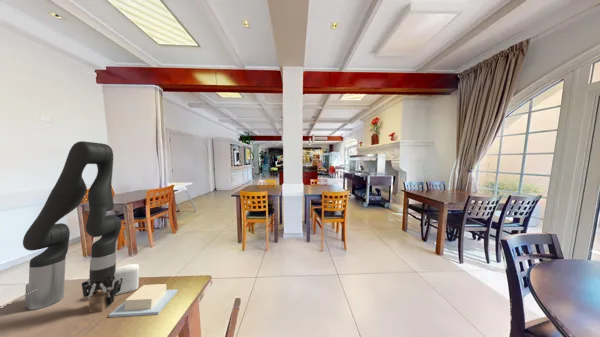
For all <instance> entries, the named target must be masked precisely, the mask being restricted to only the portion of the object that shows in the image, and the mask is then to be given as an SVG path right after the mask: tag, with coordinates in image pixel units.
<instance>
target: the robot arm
mask: <svg viewBox="0 0 600 337" xmlns="http://www.w3.org/2000/svg"><path fill="white" fill-rule="evenodd" d="M87 165H96V167H97V173H96V176H95V179H94V180H93V182H92V184H91V185H90V187H89V188H88V187H87V185H86V182H85V180H84V178H83V172H84V169H85V168H86V166H87ZM113 168H114V151H113V149H112V147H111V146H110V145H109V144H106V143H102V142H101V143H99V142H93V141H84V140H83V141H82V140H81V141H78V142H75V143H74V144H73V145H72V146H71V147H70V149H69V151H68V154H67V157H66V160H65V162H64V166H63V168H62V170H61V173H60V175H59V177H58V178H57V181H56V182H55V185H54V186H53V187H52V189H51V191H50V193H49V194H48V197H47V199H46V201H45V203H44V205H43V207H42V208H41V211H40V212H39V213H38V215H37V217H36V218H35V220H34V221H33V222H32V223H31V225H30V226H29V228H28V229H27V231H26V232H25V234H24V236H23V239H22V245H23V248H24V249H25V250H26V251H30V252H31V251H38V250H42V249H45V248H46V249H45V250H43V251H42V252H41V253H38V254H37V255H35V256H34V257H31V259H30V260H29V263H28V264H29V265H28V266H29V268H28V269H29V270H28V283H27V284H26V285H25V294H24V295H25V296H24V308H26V309H27V310H31V311H33V310H39V309H43V308H46V307H49V306H51V305H54V304H56V303H57V302H60V300H62V299H63V298H64V297H65V281H66V278H65V277H66V257H67V256H66V255H67V254H68V251H69V242H70V235H71V234H70V233H71V231H70V228H69V226H68V225H67V224H65V223H62V222H61V223H57V222H59V221H60V220H61V219H62V218H64V217H65V216H67V215H68V214H70V213H71V212H73V211H75V209H76V208H78V207H79V206H80V205H81V204H82V202H83V200H84V198H85V196H86V195H87V202H88V207H89V212H88V215H87V220H86V224H85V231H86V233H87V234H88V236H90V237H93V238H98V237H99V239H97V240H96V241H95V242H93V243H92V244H91V251H90V252H91V255H90V256H91V257H90V261H89V276H88V277H89V278H88V279H87V280H85V281H83V282H82V283H81V289H82V295H83V297H84V298H86V297H87V299H88V298H89V297H91V296H92V295H94V294H95V293H97V292H98V291H100V290H103V292H104V293H106V295H107V301H106V306H109V305H110V306H111V305H113V304H114V303H115V302H114V301H115V296H116V295H115V294H117V293H118V292H119V291H120V289H121V284H122V280H123V279H122V278H120V279H115V277H114V274H115V271H116V268H117V267H116V266H117V255H116V254H117V253H116V252H117V250H116V248H117V246H116V245H117V240H118V238H119V235H120V233H121V229H122V227H123V226H122V225H123V224H122V220H121V218H120V217H118V216H116V215H109V216H106V215H107V213H108V212H110V211H112V210H114V207H115V205H114V197H113V189H112V183H113V182H112V180H113ZM87 192H88V193H87ZM113 283H114V284H113ZM108 287H110V288H109V289H107V288H108ZM36 289H37V290H36ZM34 290H35V291H34ZM32 291H33V292H32ZM110 291H111V293H110ZM30 292H31V293H30ZM28 293H29V294H28ZM26 294H27V295H26ZM113 302H114V303H113ZM110 306H109V307H110Z"/></svg>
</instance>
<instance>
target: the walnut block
mask: <svg viewBox="0 0 600 337" xmlns="http://www.w3.org/2000/svg"><path fill="white" fill-rule="evenodd" d="M110 293H111V291H110ZM106 301H107V295H106V293H104V292H103V290H99V291H98V292H97V293H95V294H94V295H92V296H91V297H89V299H88V313H99V312H104V311H105V310H106V309H108V308H109V307H110V306H111V305H109V306H106ZM114 303H115V302H113V303H112V304H114Z"/></svg>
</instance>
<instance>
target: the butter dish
mask: <svg viewBox="0 0 600 337" xmlns="http://www.w3.org/2000/svg"><path fill="white" fill-rule="evenodd" d="M167 286H168V285H167V283H161V284H160V283H159V284H158V283H156V284H143V285H142V286H140V287H138V289H137V290H135V291H134V292H133V293H132V294H131V295H129V296H128V297H127V298H126V299H125V300H124V302H123V303H121V304H120V305H119V306H118V307H116V308H115V309H114V310H112V312H111V313H110V314H109V316H108V318H119V317H138V316H152V315H153V316H155V315H159V314H160V313H161V312H162V311H163V310H164V308H165V307H166V306H167V305H168V303H169V302H170V301H171V300H172V299H173V298H174V296H176V295H177V293H178V291H179V289H176V288H175V289H167Z"/></svg>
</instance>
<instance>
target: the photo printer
mask: <svg viewBox="0 0 600 337" xmlns="http://www.w3.org/2000/svg"><path fill="white" fill-rule="evenodd" d="M114 277H115V279H120V278H122V279H123V280H122V284H121V289H120V291H119V292H118V293H117V294H115V295H114V296H118V295H122V294H125V293H130V292H133V291H134V292H135V291H137V290H138V289H139V286H140V285H139V284H140V282H139V280H140V265H139V264H138V263H134V264H133V263H132V264H131V263H130V264H125V265H121V266H118V267H116V271H115V274H114ZM113 284H114V283H113Z"/></svg>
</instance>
